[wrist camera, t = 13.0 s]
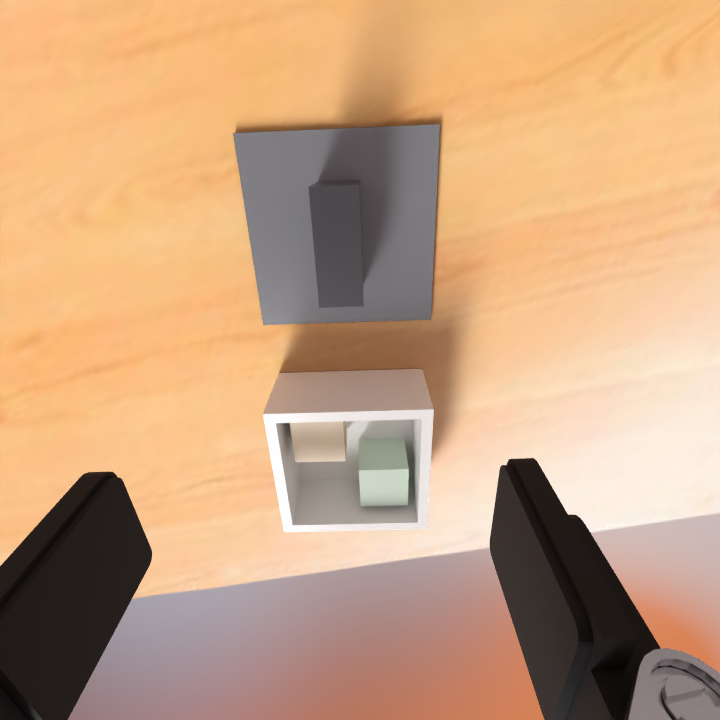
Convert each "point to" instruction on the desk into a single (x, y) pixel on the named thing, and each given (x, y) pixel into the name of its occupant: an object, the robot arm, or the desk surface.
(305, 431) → the birch block
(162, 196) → the desk surface
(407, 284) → the lid
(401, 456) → the sage block
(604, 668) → the robot arm
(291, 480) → the storage box
